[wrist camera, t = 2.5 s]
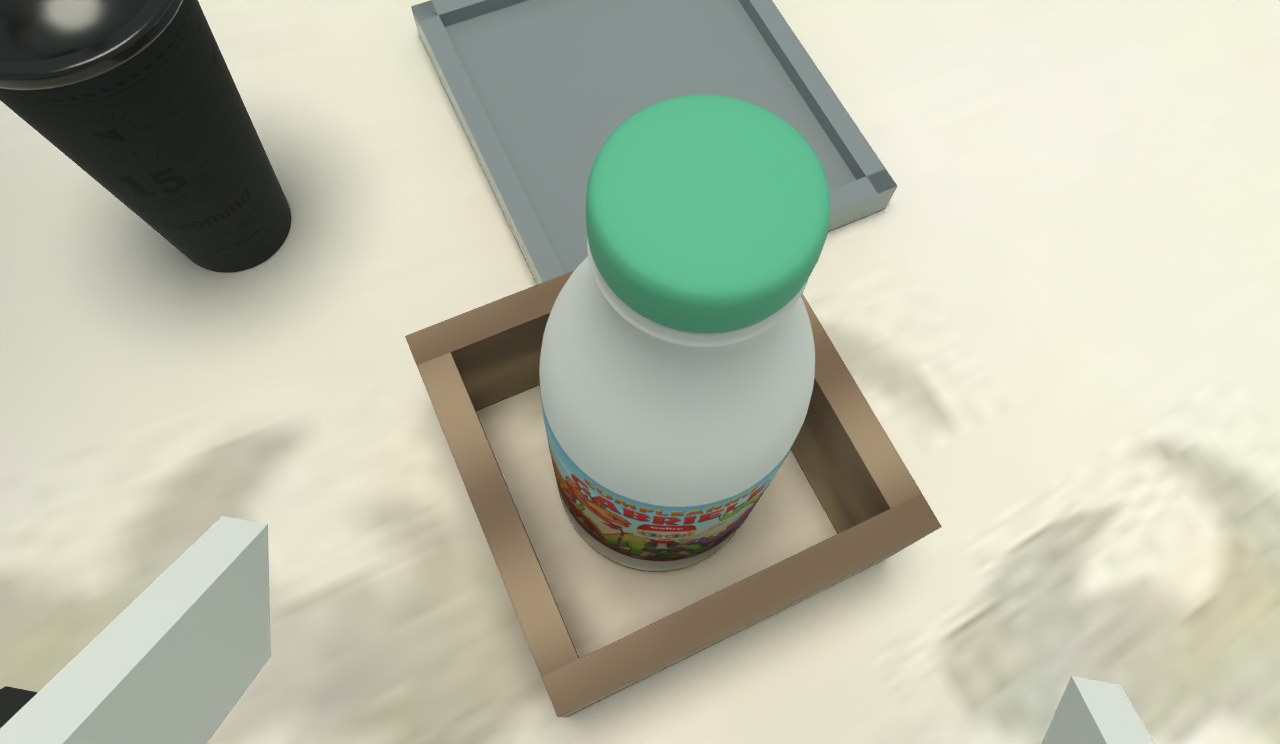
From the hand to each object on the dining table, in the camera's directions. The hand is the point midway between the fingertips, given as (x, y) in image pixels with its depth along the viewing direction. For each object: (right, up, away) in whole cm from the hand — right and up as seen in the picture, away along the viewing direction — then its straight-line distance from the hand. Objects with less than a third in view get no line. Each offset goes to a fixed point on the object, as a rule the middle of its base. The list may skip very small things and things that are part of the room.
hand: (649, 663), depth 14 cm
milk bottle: (0, +1, +20) cm, 20 cm away
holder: (0, +1, +20) cm, 20 cm away
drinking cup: (-18, +11, +24) cm, 32 cm away
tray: (0, +17, +27) cm, 31 cm away
